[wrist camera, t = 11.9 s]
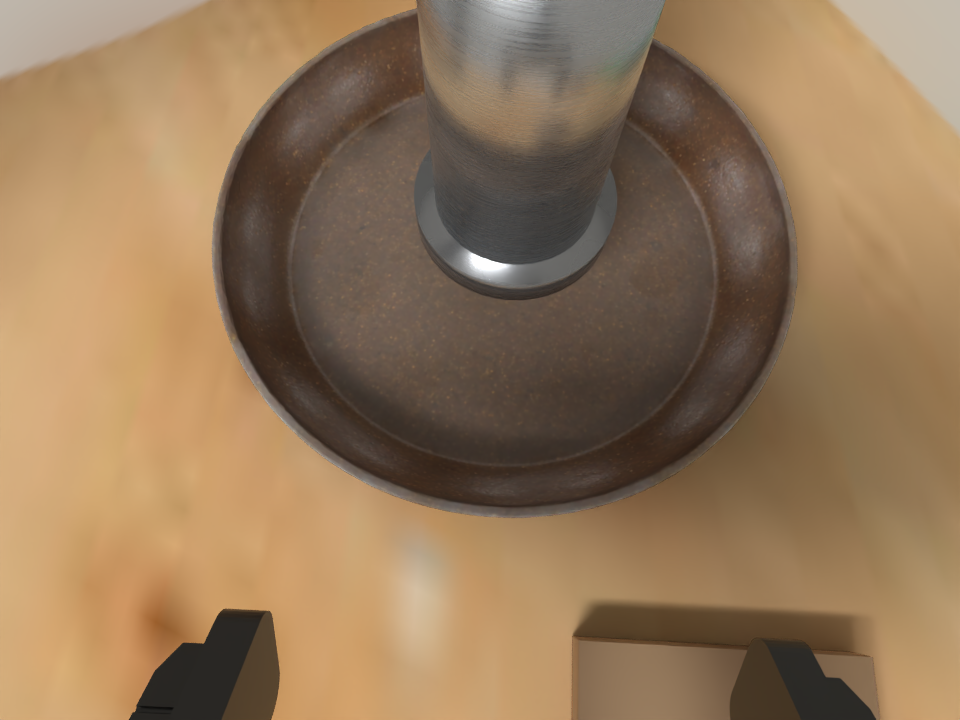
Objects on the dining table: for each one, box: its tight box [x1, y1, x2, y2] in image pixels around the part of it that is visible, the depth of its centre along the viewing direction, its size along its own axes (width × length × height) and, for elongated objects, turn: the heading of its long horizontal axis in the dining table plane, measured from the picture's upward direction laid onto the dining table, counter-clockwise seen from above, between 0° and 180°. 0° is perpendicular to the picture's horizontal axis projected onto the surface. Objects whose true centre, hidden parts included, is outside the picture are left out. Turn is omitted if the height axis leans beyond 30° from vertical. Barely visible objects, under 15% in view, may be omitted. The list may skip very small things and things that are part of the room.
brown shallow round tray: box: [212, 8, 797, 518], centre depth 20 cm, size 18×18×3 cm
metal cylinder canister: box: [414, 0, 665, 300], centre depth 14 cm, size 6×6×11 cm
